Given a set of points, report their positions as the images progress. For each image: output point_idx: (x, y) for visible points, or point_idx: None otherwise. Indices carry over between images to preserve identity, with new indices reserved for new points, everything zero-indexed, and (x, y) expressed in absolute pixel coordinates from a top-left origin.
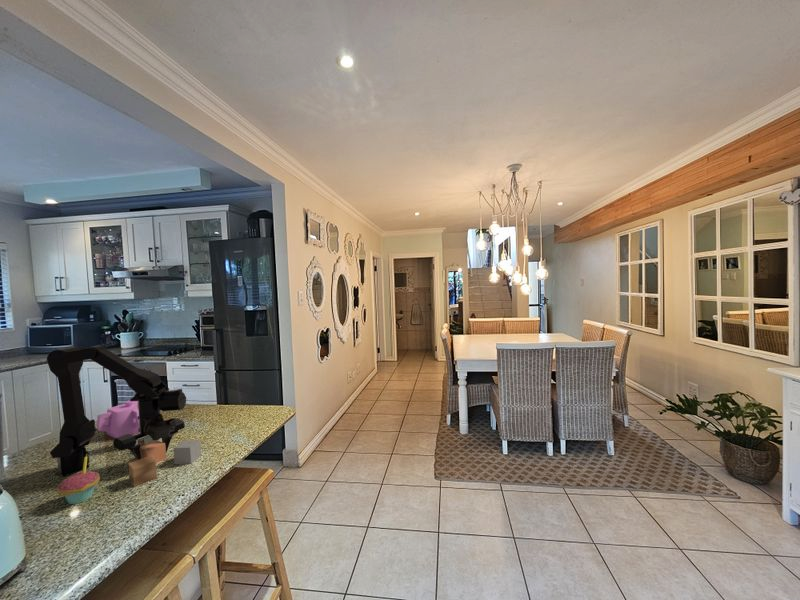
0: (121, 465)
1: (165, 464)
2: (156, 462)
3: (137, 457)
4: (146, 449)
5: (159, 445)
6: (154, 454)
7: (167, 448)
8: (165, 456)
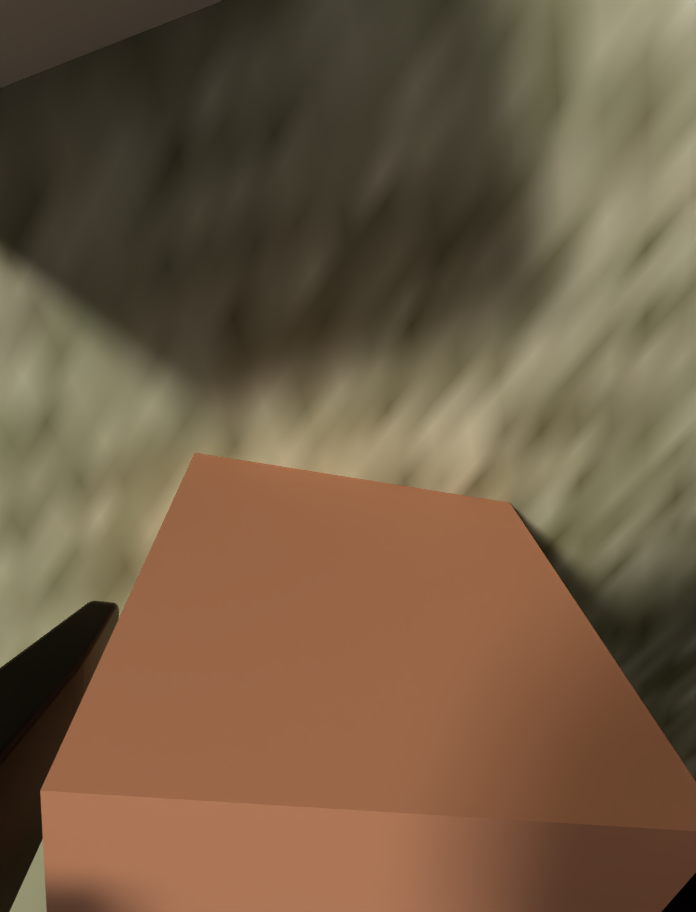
0: None
1: (362, 245)
2: (372, 490)
3: None
4: (635, 896)
5: (273, 823)
6: (433, 617)
7: (27, 657)
8: (196, 485)
